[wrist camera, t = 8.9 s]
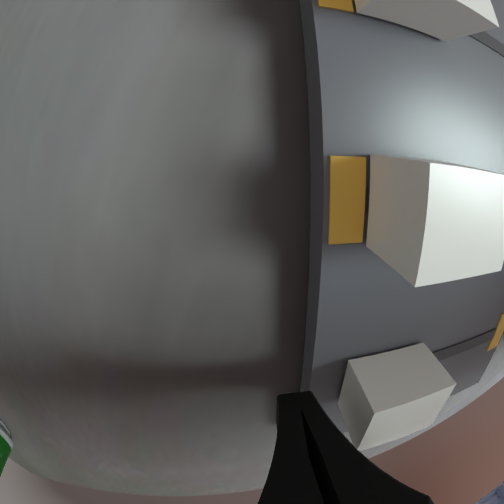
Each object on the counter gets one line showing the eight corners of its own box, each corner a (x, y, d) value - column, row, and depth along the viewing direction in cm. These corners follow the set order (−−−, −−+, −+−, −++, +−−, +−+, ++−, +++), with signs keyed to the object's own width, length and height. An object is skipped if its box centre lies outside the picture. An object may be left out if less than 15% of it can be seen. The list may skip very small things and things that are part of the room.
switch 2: (457, 164, 8) (516, 177, 5) (449, 240, 9) (501, 270, 6) (370, 154, 8) (430, 162, 5) (365, 246, 9) (415, 287, 6)
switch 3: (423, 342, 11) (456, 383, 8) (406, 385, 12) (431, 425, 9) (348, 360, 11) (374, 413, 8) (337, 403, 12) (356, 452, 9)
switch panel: (499, 9, 6) (515, 5, 4) (468, 370, 15) (478, 383, 14) (286, -75, 5) (292, -94, 4) (296, 421, 14) (301, 441, 13)
